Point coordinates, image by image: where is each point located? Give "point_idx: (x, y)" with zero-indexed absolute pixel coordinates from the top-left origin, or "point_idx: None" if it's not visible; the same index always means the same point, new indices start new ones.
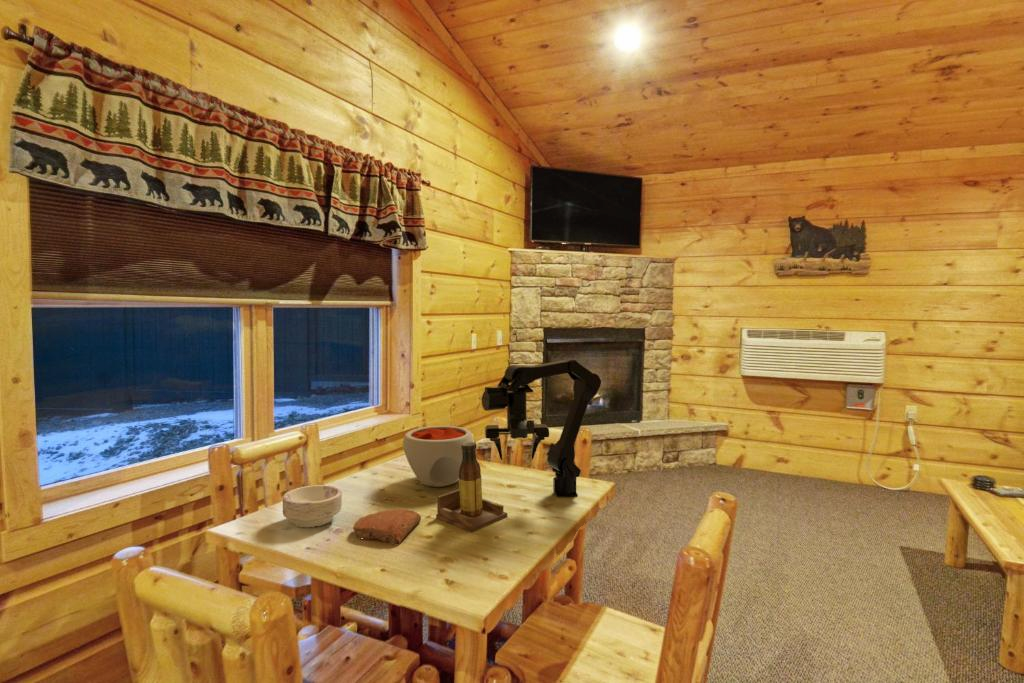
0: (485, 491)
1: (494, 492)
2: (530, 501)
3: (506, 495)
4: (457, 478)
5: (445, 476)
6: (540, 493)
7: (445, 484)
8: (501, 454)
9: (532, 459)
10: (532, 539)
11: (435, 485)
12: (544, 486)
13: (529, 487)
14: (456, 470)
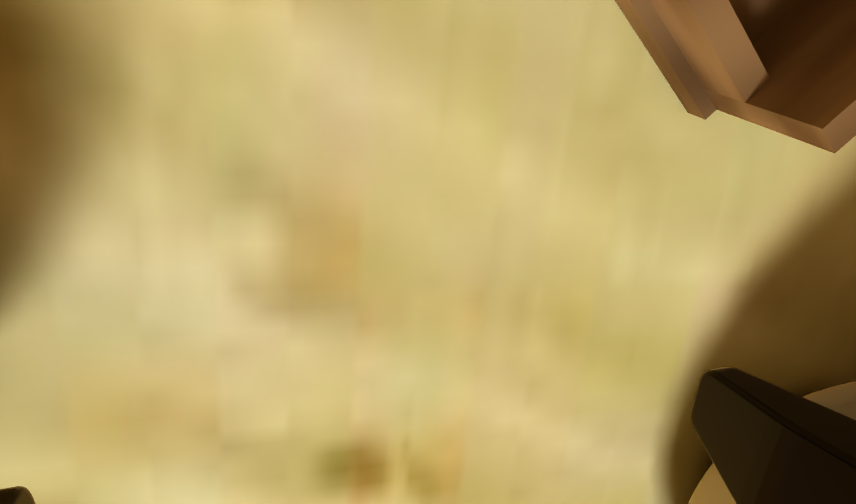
0: (548, 362)
1: (488, 349)
2: (184, 165)
3: (402, 298)
4: None
5: None
6: (96, 355)
7: None
8: (829, 437)
9: (2, 492)
10: None
11: (852, 383)
12: (73, 497)
13: (207, 463)
14: None
